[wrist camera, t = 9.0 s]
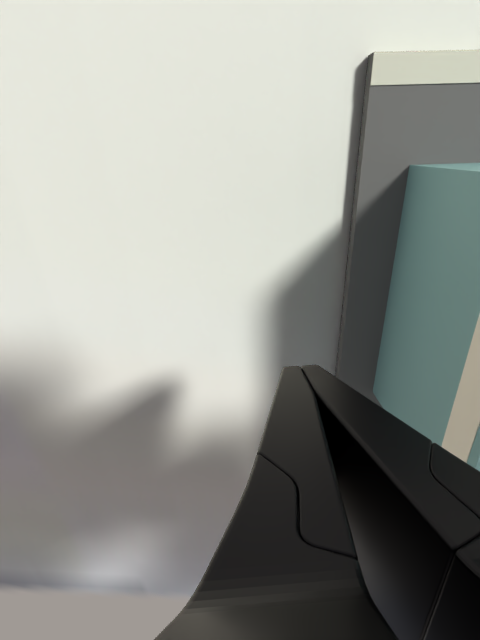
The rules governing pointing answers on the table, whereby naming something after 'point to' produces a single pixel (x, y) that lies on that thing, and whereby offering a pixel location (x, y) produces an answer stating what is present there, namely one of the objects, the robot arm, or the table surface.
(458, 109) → the mat
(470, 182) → the block
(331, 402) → the robot arm
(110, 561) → the table surface
